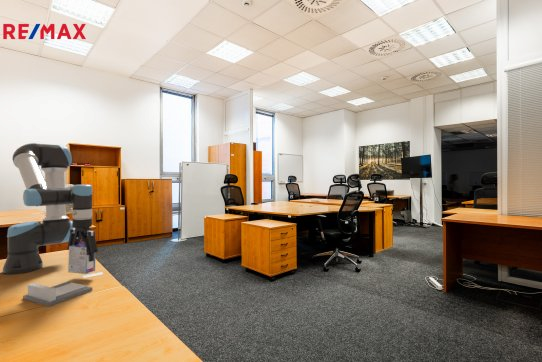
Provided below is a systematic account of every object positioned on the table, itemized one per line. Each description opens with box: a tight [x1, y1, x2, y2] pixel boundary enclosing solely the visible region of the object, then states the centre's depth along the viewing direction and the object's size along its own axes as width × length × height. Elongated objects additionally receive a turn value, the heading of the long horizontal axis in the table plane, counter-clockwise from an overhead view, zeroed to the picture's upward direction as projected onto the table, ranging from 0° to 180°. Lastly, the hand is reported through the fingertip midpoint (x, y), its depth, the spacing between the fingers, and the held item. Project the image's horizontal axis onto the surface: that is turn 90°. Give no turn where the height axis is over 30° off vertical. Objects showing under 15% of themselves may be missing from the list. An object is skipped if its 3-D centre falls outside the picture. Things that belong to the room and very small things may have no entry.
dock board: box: [22, 281, 93, 307], centre depth 110 cm, size 16×16×5 cm
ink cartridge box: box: [67, 239, 96, 275], centre depth 128 cm, size 10×6×14 cm, turn 78°
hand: (82, 266), depth 128 cm, fingers closed on ink cartridge box, 10 cm apart
